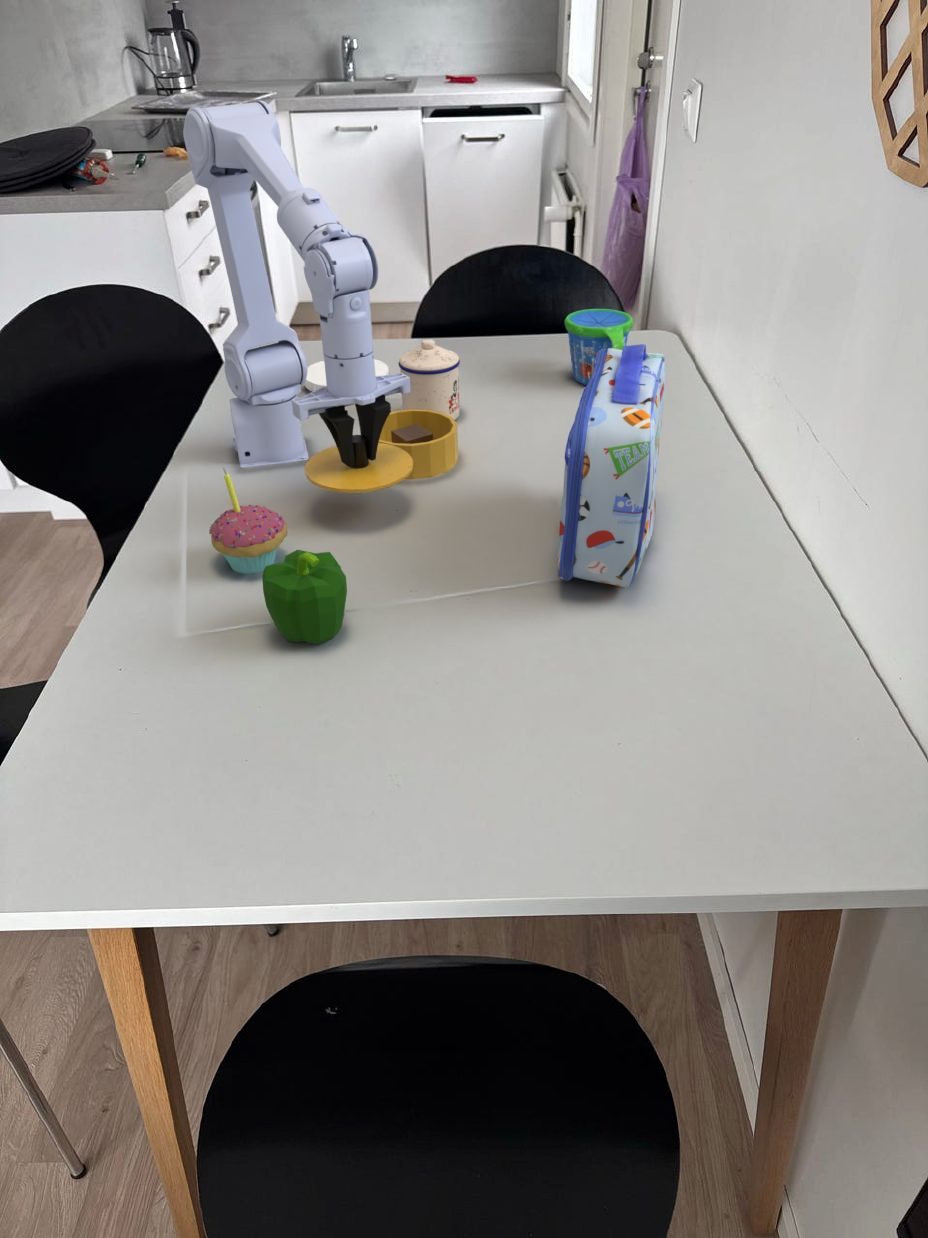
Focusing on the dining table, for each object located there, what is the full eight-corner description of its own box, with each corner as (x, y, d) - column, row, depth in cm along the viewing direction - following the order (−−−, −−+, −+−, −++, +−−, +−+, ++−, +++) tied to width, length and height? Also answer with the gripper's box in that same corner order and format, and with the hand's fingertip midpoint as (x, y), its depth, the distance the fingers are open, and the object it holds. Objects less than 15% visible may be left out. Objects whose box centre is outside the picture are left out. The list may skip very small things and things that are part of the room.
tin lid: (311, 503, 110) (307, 468, 107) (300, 456, 120) (296, 423, 118) (423, 489, 112) (421, 454, 110) (403, 444, 123) (401, 411, 120)
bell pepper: (264, 618, 101) (249, 536, 95) (339, 602, 103) (329, 521, 97) (279, 663, 94) (265, 578, 88) (359, 644, 96) (351, 560, 91)
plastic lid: (298, 377, 160) (296, 362, 159) (379, 366, 163) (377, 352, 162) (312, 406, 149) (310, 391, 148) (398, 395, 152) (397, 379, 151)
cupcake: (201, 574, 108) (181, 479, 101) (248, 541, 114) (232, 449, 108) (261, 592, 105) (244, 495, 98) (306, 557, 111) (293, 463, 104)
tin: (377, 487, 125) (374, 450, 122) (363, 450, 135) (360, 414, 132) (466, 476, 128) (465, 439, 125) (446, 440, 137) (445, 405, 134)
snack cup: (550, 366, 162) (552, 306, 156) (609, 360, 163) (613, 300, 158) (580, 399, 149) (583, 335, 143) (643, 392, 151) (648, 329, 145)
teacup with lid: (463, 426, 141) (461, 349, 135) (402, 429, 141) (397, 352, 134) (457, 396, 151) (455, 323, 145) (400, 399, 151) (395, 326, 144)
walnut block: (408, 469, 129) (406, 440, 126) (392, 458, 132) (390, 430, 129) (434, 461, 131) (433, 433, 128) (418, 451, 134) (417, 423, 131)
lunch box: (576, 487, 124) (584, 319, 112) (656, 493, 122) (674, 322, 110) (548, 602, 102) (555, 408, 90) (646, 611, 100) (667, 414, 88)
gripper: (305, 374, 102) (319, 488, 109) (421, 347, 108) (426, 456, 116) (278, 356, 107) (293, 466, 114) (390, 331, 113) (397, 437, 121)
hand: (358, 460), depth 115 cm, fingers closed on tin lid, 2 cm apart
